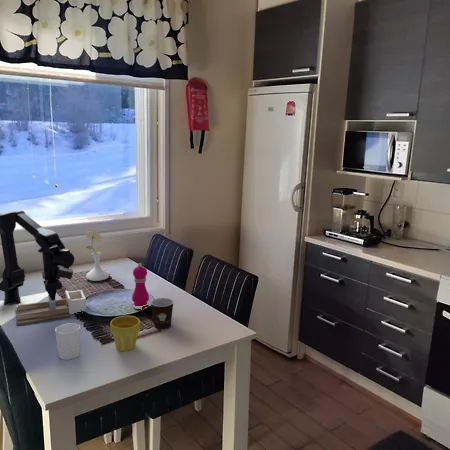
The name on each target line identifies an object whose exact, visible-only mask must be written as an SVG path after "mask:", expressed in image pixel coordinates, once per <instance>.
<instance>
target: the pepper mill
mask: <svg viewBox="0 0 450 450" xmlns="http://www.w3.org/2000/svg"><path fill="white" fill-rule="evenodd" d="M132 276H133V277H134V278H133V282H135V283H134V284H135V285H134V286H135V287H134V291H133V293H132V296H131V300H132V302H133V305H135V306H143V305H146V304H147V303H148V302H149V300H150V295H149V292H148V290H147V287H146V282H147V276H148V270H147V268H146V267H144V266H143V263H141V262H139V263H138V264H137V266H136V267H135V268H133V270H132Z"/></svg>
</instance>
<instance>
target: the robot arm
mask: <svg viewBox="0 0 450 450" xmlns="http://www.w3.org/2000/svg"><path fill="white" fill-rule="evenodd" d="M17 225H18V226H20V227H21V228H22V229H24V230H25V231H26V232H28V233H29V234H30V235H31V236H32V237H34V238H35V239H34V240H35V243H36V244H37V245H38V246H39V247H40V248H39V249H38V250H37V251H38V253H42V255H41V256H42V268H43V269H42V270H43V271H42V272H41V275H42V276H41V277H42V279H43V280H42V281H43V284H44V291H46V292H47V294H49V295H48V297H49V296H50V298H51V300H52V301H54V300H56V295H57V291H58V290H63V284H62V281H61V280H60V279H61V278H63V279H68V280H72V279H73V278H72V277H73V275H74V269H72V268H70V267H72V266H73V265H74V263H75V255H74V254H73V253H72V252H71V250H70V249H66V246H65V245H64V244H65V243H63V242H62V240H61V238H60V235H59V234H58V233H57V232H55V231H53V230H52V229H48V228H44V227H43V226H41V225H40V224H39V223H38V222H36V221H35V220H34V219H33V218H31V217H30V216H29V215H28V214H26V212H25V210H21V209H19V210H15V211H12V212H11V211H8V212H1V213H0V242H1V249H2V254H3V261H4V269H3V272H2V278H1V279H2V280H1V282H0V292H4V294H3V295H4V298H3V299H4V300H3V301H4V302H3V305H5V306H6V305H11V304H20V303H22V301H21V296H20V289H19V288H20V287H23V286H24V282H25V281H26V280H25V278H26V274H25V268H21V266H19V263H18V257H17V250H16V244H15V237H14V232H15V229H16V226H17Z"/></svg>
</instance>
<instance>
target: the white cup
mask: <svg viewBox="0 0 450 450" xmlns="http://www.w3.org/2000/svg"><path fill="white" fill-rule="evenodd" d="M54 332H55V333H54V334H55V339H56V348H57V352H58V357H59V359H60V360H65V361H68V360H69V361H70V360H73V359H77V357H79V356H80V354H81V353H80V352H81V348H80V346H81V326H80V324H78V323H76V322H75V323H74V322H68V323H63V324H60V325H58V326H56V327H55V329H54Z"/></svg>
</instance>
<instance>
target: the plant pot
mask: <svg viewBox="0 0 450 450" xmlns="http://www.w3.org/2000/svg"><path fill="white" fill-rule="evenodd" d="M109 327H110V329H109V330H110V333H111V334H112V336H113V340H114V341H113V342H114V344H115V348H116V351H117V350H118V351H119V352H129V351H132V350H134V349H135V348H136V343H137V340H138V334H139V332H140V331H141V320H140V318H139V317H136V316H134V315H121V316H116V317H115V318H113V319H112V320H111V321H110V325H109Z"/></svg>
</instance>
